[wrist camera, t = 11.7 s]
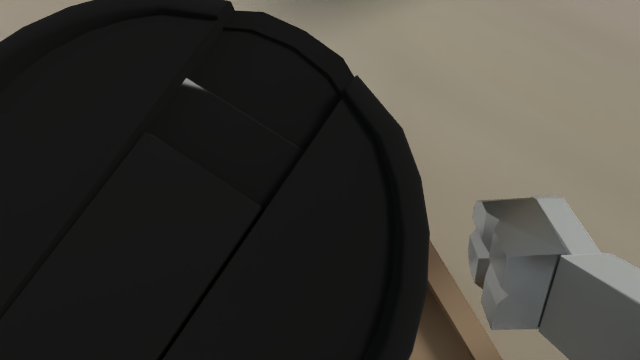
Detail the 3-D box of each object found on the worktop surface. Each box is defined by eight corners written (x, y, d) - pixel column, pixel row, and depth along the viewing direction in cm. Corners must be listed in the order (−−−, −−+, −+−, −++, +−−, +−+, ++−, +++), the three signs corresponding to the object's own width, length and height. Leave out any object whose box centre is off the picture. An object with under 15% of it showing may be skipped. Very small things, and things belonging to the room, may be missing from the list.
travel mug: (224, 291, 24) (-350, 352, 5) (298, 180, 25) (65, -159, 6) (330, 367, 23) (145, 848, 4) (404, 248, 24) (580, 126, 4)
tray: (535, 430, 23) (557, 449, 20) (292, 572, 23) (283, 611, 20) (343, 113, 27) (341, 95, 24) (133, 232, 27) (107, 227, 24)
